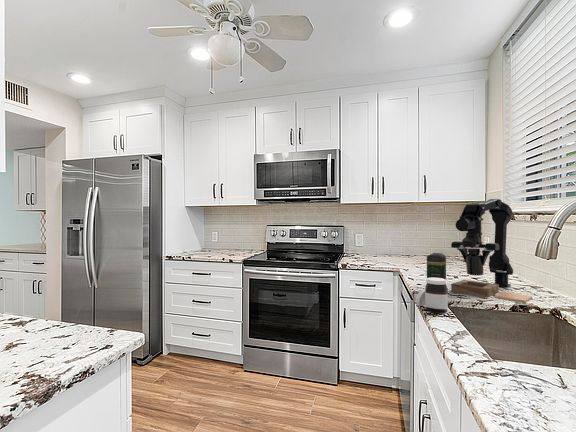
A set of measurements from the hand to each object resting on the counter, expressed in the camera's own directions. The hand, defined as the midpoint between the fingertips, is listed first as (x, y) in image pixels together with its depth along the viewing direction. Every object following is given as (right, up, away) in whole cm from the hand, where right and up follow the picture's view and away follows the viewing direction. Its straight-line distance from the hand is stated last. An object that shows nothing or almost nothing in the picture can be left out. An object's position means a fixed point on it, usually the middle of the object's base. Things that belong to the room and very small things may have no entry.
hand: (474, 264), depth 148 cm
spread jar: (-32, -13, -26) cm, 43 cm away
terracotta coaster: (+10, -13, -11) cm, 20 cm away
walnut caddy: (0, -13, 0) cm, 13 cm away
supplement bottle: (0, -5, 0) cm, 5 cm away
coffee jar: (-19, -13, -3) cm, 24 cm away
